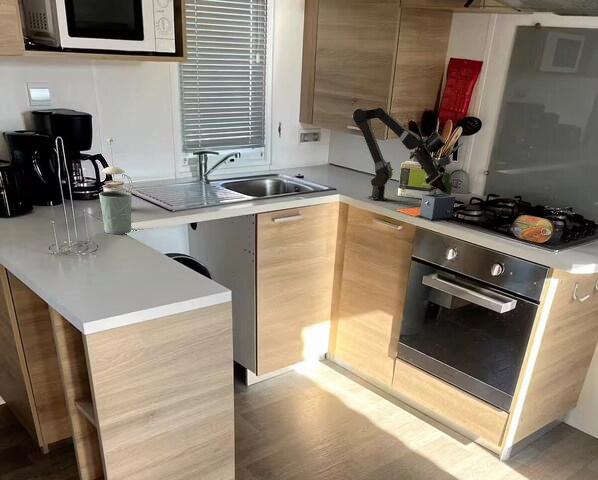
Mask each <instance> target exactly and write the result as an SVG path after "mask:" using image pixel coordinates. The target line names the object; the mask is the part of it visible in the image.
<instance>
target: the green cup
mask: <svg viewBox="0 0 598 480" xmlns="http://www.w3.org/2000/svg"><path fill="white" fill-rule="evenodd" d="M98 197H99V201H100V208H101V213H102V222H103V228H104V232H105V233H107V234H112V235H125V234H128V233H131V232H132V202H133V200H132V199H133V194H132V192H130V193H129V191H126V192H122V191H106V192H105V191H101V192H100V193H99V194H98Z"/></svg>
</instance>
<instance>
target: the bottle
mask: <svg viewBox="0 0 598 480" xmlns="http://www.w3.org/2000/svg"><path fill="white" fill-rule="evenodd" d="M450 179H451V173H449V172H446V173H444V172H443V178H442V182H443V184H444V186H445V188H446V190H447V192H445V193H444V192H442V191H441V190H439V189H437V188H436V192H435V194H439V193H444V194H448V195H451V196H452V190H453V184H454V182H453V181H451V180H450Z"/></svg>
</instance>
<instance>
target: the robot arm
mask: <svg viewBox="0 0 598 480" xmlns="http://www.w3.org/2000/svg"><path fill="white" fill-rule="evenodd" d="M372 119H373V120H374V119H378V120H379V121H381V122H382V123H383V124H384V125H385V126H386V127H387V128H389V130H391V132H393V133H394V134H395V135H396V136H397V137H398V138H399V140H400V141H401V143H402V145H404V147H405V148H406V149H407V150H409V151H410V152H409V160H412V159H414V158H415V160H416V162H418V163H419V164H420V165H421V169H422V170H424V171H425V172H426V174H427V177H426V178H425V182H426V183H427V184H429V183H430V182H431V181H432V183H430V185H432V186H434V187H435V189H436V190H437V189H439V190H441V191H442V192H444V193H445V192H447V190H446V188H445V186H444V184H443V182H442V178H443V173H447V171H446V170H447V167H446V166H448V165H450V164H452V161H451V156H450V155H447V154H446V153H445V154H442V155H441V157H440V158H438V159H436V157H433V156H432V155H431V154H432V153H433V154H436V153H437V152H439V151H440V150H441V149H442V148H444V147H445V146H446V144H447V143H446V141H445V139H444V138H443V137H442V135H440V134H439V133H438V132H437V131H434V132H433V133H432V134H431V135H430V136H429V137H428V138H422V137H420V135H418V134H417V133H416V132H414V131H411V130H410V129H408V128H407V127H404V126H403V125H402V124H401V123H400V122H399V121H398V120H397V119H396V118H394V117H393V115H391V114H390V113H389V112H388V111H387V110H386V109H385V108H384V107H377V108H372V109H367V108H365V107H362V108H361V107H360V108H357V109H355V110H353V113H352V120H353V122H354V124H355V125H356V128H358V129H359V131H360V132H361V133H362V136H363V138H364V140H365V144H366V146H367V148H368V151H369V154H370V156H371V158H372V161H373V165H374V173H375V176H374V177H373V178H372V179H371V180H370V184H371V186H372V187H371V195H368V199H370V200H373V201H387V198H386V197H385V191H386V185H387V183H388V181H390V180H391V179H392V177H393V175H394V174H393V171H394V169H393V167H392V165H391V161H390V160H389V161H386V160H385V158H384V156H383V153H382V151H381V149H380V145H379V144H378V141H377V139H376V136H375V134H374V131H373V129H372V128H373V127H372ZM420 147H421V148H420ZM412 150H414V151H412Z"/></svg>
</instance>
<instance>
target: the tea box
mask: <svg viewBox="0 0 598 480" xmlns="http://www.w3.org/2000/svg"><path fill="white" fill-rule="evenodd" d="M426 177H427V174H426V172H425V171H424V170H422V169H421V165H420V164H419V163H418V161H410V160H406V161H403V162H401V165H400V172H399V179H398V180H399V181H398V190H397V196H398V197H405V198H413V199H420V200H422V195H427V194H435V189H436V187H434V186H432V185H430V183H432V181H431V182H430V183H429V184H427V183H426V182H425V178H426Z"/></svg>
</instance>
